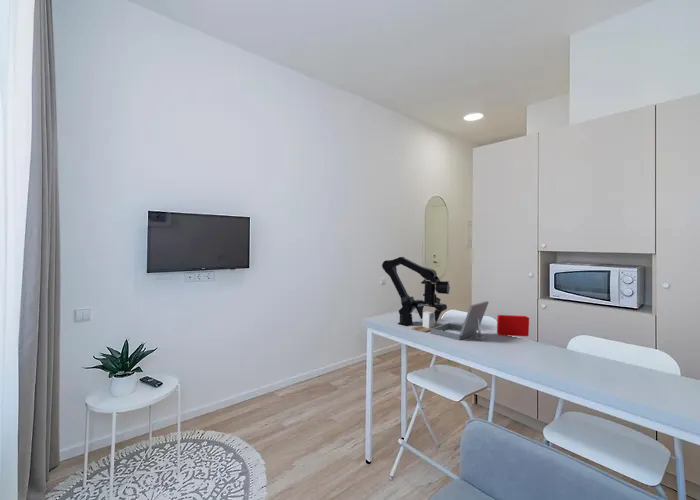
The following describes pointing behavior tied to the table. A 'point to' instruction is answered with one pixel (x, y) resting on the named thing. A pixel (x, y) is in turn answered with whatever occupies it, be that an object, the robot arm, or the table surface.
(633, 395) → the table surface
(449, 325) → the case
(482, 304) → the case lid
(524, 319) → the red flat block
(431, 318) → the block
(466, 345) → the table surface
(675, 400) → the table surface
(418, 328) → the walnut board
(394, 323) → the table surface
